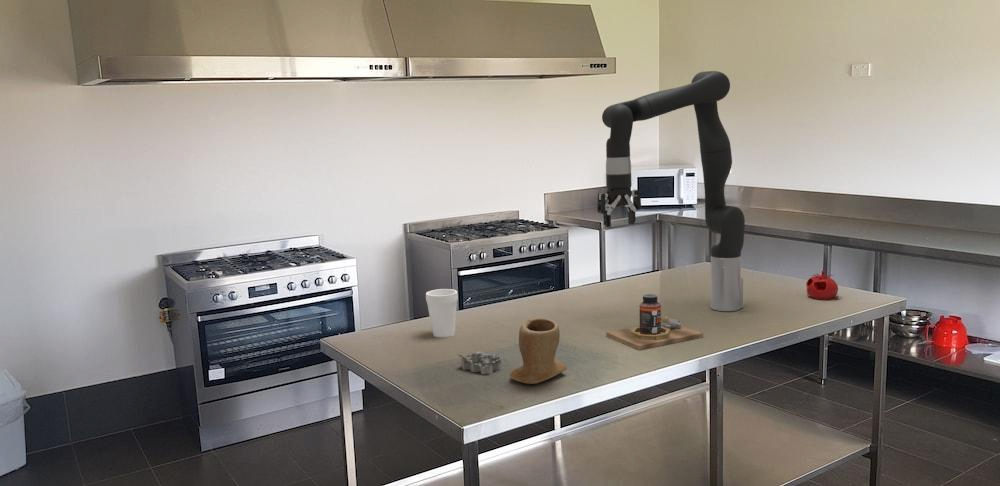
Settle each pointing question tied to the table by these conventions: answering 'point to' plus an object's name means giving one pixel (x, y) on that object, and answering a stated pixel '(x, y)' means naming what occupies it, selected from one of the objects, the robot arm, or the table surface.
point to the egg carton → (487, 362)
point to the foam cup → (442, 311)
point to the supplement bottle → (650, 315)
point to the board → (669, 335)
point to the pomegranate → (821, 287)
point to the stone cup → (538, 351)
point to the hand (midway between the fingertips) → (619, 225)
